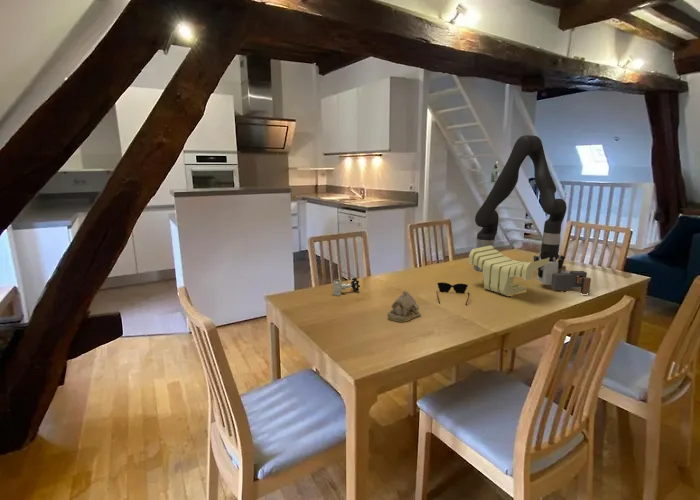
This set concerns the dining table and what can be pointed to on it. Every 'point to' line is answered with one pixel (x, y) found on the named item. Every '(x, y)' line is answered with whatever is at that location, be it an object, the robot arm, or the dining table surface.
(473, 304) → the dining table surface
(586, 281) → the brown l-shaped piece
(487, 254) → the slatted curved stool
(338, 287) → the valve
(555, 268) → the small box
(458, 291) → the sunglasses
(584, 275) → the collar
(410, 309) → the ceramic model
